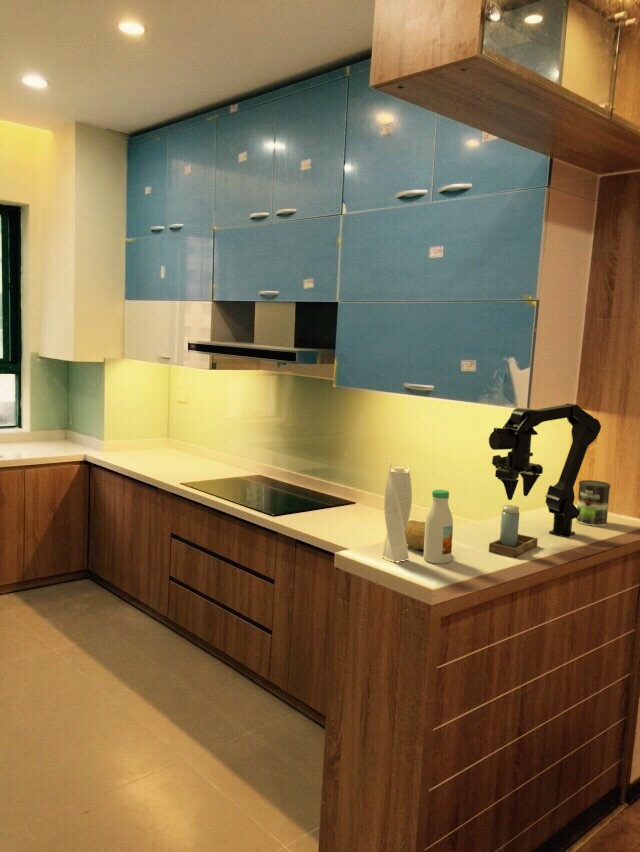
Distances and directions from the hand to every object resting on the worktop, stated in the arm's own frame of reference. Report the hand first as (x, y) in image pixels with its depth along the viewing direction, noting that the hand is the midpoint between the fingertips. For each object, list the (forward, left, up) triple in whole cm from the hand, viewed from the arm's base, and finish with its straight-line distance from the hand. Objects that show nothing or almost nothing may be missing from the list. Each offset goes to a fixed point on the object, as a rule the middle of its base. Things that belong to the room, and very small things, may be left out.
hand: (517, 497), depth 226 cm
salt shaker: (+16, +5, -12) cm, 21 cm away
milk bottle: (+38, -6, -13) cm, 41 cm away
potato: (+32, -16, -13) cm, 38 cm away
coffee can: (-38, +11, -13) cm, 42 cm away
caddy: (+12, +5, -13) cm, 18 cm away
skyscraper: (+46, -15, -13) cm, 50 cm away
